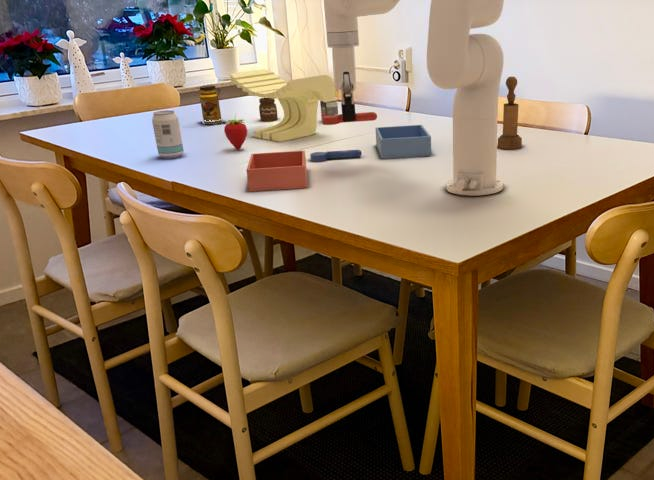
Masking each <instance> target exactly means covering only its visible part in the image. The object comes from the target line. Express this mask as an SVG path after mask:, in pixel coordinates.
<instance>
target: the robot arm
mask: <svg viewBox="0 0 654 480" xmlns="http://www.w3.org/2000/svg"><path fill="white" fill-rule="evenodd" d="M400 1H401V0H323V7H324V8H323V9H324V21H325V31H326V43H327V48H329V49H332V51H331V52H332V53H331V55H332V69H333V70H332V71H333V82H334V86H335V92H337V93H339V91H340V94H341V103H340V104H341V105H340V106H341V114H342V116H343V121H344V123H350V122H349V121H355V120H356V115H355V113H356V104H355V101H354V91H355V90H356V89H357V87H356V86H357V85H356V84H357V73H356V69H357V68H356V54H355V53H356V51H355V47H360V36H359V24H358V23H359V22H358V17H367V16H377V15H385V14H387V13H389V12H391V11H392V10H393V9H394V8H395V7H396V6H397V4H398V3H399V2H400ZM504 1H505V0H430V6H429V17H428V32H427V46H426V69H427V73H428V76H429V79H430V80H431V82H432V83H433V84H434V85H435V86H436V87H438V88H439V89H443V90H455V89H456V90H455V93H454V99H453V102H452V104H453V105H452V179H451V180H449V181H447V183H445V187H446V188H445V189H446V191H447V192H449V193H451V194H453V195H454V194H455V195H459V196H470V197H471V196H472V197H474V196H486V195H493V194H496V193H499V192H501V191H502V190H503V189H504V183H503V181H501V180H500V179H498V178H497V164H498V163H497V157H498V118H499V117H498V116H499V114H498V113H499V94H500V85H501V79H502V76H503V70H504V69H503V68H504V60H505V59H504V52H503V48H502V46H501V44H500V42H499V41H498V40H497V38H495V37H494V36H491V35H489V34H486V33H471V34H470V31H471V30H472V29H479V28H480V29H481V28H485V27H489V26H491V25H494V24H495V23H496V22H498V21H499V19H500V17H501V16H502V12H503V10H504V9H503V8H504Z"/></svg>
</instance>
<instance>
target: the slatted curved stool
mask: <svg viewBox="0 0 654 480" xmlns="http://www.w3.org/2000/svg"><path fill="white" fill-rule="evenodd" d="M229 77H230V84H231V85H236V88H238V89H242V92H243V93H244V92H245V93H247V95H248V96H251V97H258V98H259V97H261V98H272V99H274V100H277V101H279V104H280V106H281V108H282V110H283V119H282V120H281V121H280V122H278V123H276V124H275V125H272V126H268V127H266V128H261V129H257V130H254V134H253V137H254V138H258V139H263V140H267V141H274V142H278V143H279V142H285V141H289V140H295V139H299V138H304V137H308V136H312V135H314V134H315V133H316V131H317V126H318V109H319V102H320V101H323V102H330V101H335V100H336V99H335V97H336V90H335V82H334V79H333V78H332V77H331V76H330V75H327V74H321V75H314V76H309V77H302V78H296V79H290V80H289V81H288V82H287V81H286V80H285V79H282V78H281V76H279V75H276V74H275V72H274V71H271V70H269V69H266V68H263V69H256V70H248V71H240V72H234V73H230V74H229Z"/></svg>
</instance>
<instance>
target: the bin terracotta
mask: <svg viewBox="0 0 654 480" xmlns="http://www.w3.org/2000/svg"><path fill="white" fill-rule="evenodd" d="M307 169H308V168H307V159H306V151H305V150H290V151H275V152H258V153H257V152H256V153H251V154H250V157H249V160H248V163H247V167H246V177H247V184H248V185H247V186H248V191H249V192H263V191H265V192H266V191H280V190H295V189H307V187H308V170H307Z"/></svg>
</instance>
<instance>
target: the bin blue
mask: <svg viewBox="0 0 654 480" xmlns="http://www.w3.org/2000/svg"><path fill="white" fill-rule="evenodd" d="M375 144H376V145H375V146H376V148H377V150H378V153H379V155H380V158H381V159H382V160H386V159H401V158H417V157H431V156H432V136H431V135H430V133H429V132H428V131H427V129H426V128H425V127H424V125H423V124H412V125H396V126H395V125H394V126H378V127H375Z"/></svg>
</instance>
